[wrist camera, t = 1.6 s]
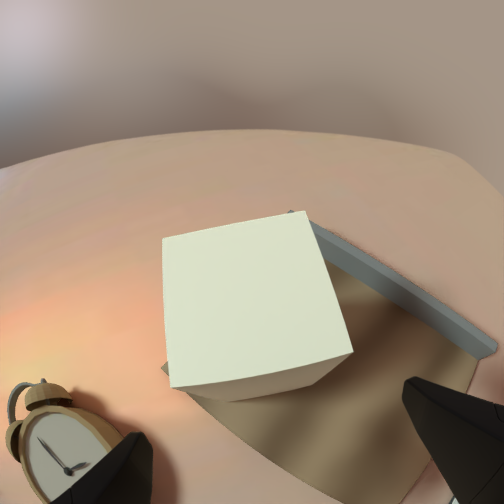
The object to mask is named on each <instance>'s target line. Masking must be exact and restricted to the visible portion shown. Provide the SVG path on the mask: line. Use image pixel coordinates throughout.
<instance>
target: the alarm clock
mask: <svg viewBox="0 0 504 504" xmlns="http://www.w3.org/2000/svg"><path fill="white" fill-rule="evenodd" d="M30 386H33V387H32V388H30V389H29V390H28V392H27V393H26V395H25V406H26V409H27V410H28V411H31V412H30V414H29V415H28V416H27V417H26V418H25V419H24V420H17V421H16V418H15V406H16V402H17V399H18V396H19V395H20V393H21V392H22V391H23V390H24V389H25V388H27V387H30ZM60 399H67V400H68V401H69V403H70V404H71V403H72V401H73V400H72V398H71V396H70V395H69V393H68V392H67V391H66V390H65V389H64V388H63V387H61V386H59V385H56V384H51V383H47V382H46V380H45V379H44V378H43V379H41V383H39V384H31V383H27V382H26V383H20V384H18V385H17V386H16V387H15V388H14V389H13V391H12V392H11V394H10V397H9V400H8V408H7V412H8V419H9V425H10V426H9V427H8V429H7V432H6V445H7V448H8V450H9V452H10V454H11V455H12V456H13V457H14V458H15V460H17V461H18V462H20V463H21V464H22V468H23V471H24V473H25V476H26V478H27V480H28V482H29V484H30V486H31V488H32V489H33V491H34V492H35V493H36V495H37V496H38V497H39V499H40V500H41V501H42V503H43V504H49V503H50V502H52V501H53V500H55V499H56V498H57V497H58V496H60V495H61V494H62V493H63V492H65V491H66V490H67V489H68V488H69V487H70V488H71V486H72V485H73V484H74V483H75V482H76V481H77V480H79V479H80V478H81V477H82V476H83V475H84V474H85V473H87V472H88V471H89V470H90V469H91V468H92V467H93V466H94V465H95V464H97V463H98V462H99V461H100V460H101V459H102V458H103V457H104V456H105V455H106V454H108V453H109V452H110V451H111V450H112V449H113V448H114V447H115V446H116V445H117V444H118V443H119V442H120V441H122V440H123V439H124V438H123V437H122V436H121V434H120V433H119V432H118V431H117V430H116V429H115V428H114V426H112V425H111V424H110V423H108V422H107V421H105V420H104V419H103V418H101V417H100V416H99V415H97V414H95V413H92V412H89V411H87V410H84V409H82V408H67V407H63V406H57V403H58V402H59V400H60Z"/></svg>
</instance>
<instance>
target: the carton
mask: <svg viewBox="0 0 504 504" xmlns="http://www.w3.org/2000/svg"><path fill="white" fill-rule="evenodd" d="M162 260H163V299H164V319H165V334H166V347H167V359H168V369H169V378H170V387H171V388H173V389H177V390H180V391H184V392H187V393H191V394H194V395H198V396H202V397H206V398H210V399H214V400H219V401H223V402H231V401H237V400H243V399H249V398H255V397H261V396H266V395H271V394H276V393H281V392H285V391H290V390H294V389H298V388H302V387H306V386H310V385H313V384H314V383H315V382H317V381H318V380H319V379H321V378H322V377H323V376H325V375H326V374H327V373H328V372H330V371H331V370H332V369H333V368H335V367H336V366H337V365H338V364H340V363H341V362H342V361H343V360H344V359H346V358H347V357H348V356H349V355H350V354H352V353H353V348H352V345H351V341H350V338H349V335H348V332H347V328H346V325H345V322H344V319H343V316H342V313H341V310H340V306H339V303H338V300H337V297H336V294H335V291H334V288H333V286H332V283H331V280H330V277H329V274H328V271H327V268H326V265H325V263H324V260H323V257H322V254H321V252H320V249H319V246H318V244H317V241H316V238H315V236H314V233H313V230H312V228H311V225H310V222H309V220H308V217H307V215H306V212H305V211H299V212H293V213H288V214H282V215H277V216H271V217H266V218H261V219H255V220H250V221H245V222H240V223H235V224H229V225H224V226H219V227H214V228H210V229H205V230H200V231H195V232H190V233H185V234H181V235H176V236H171V237H167V238H162Z"/></svg>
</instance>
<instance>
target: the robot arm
mask: <svg viewBox="0 0 504 504" xmlns="http://www.w3.org/2000/svg"><path fill="white" fill-rule="evenodd" d="M402 402H403V404H404V406H405V408H406V410H407V413H408V415H409V417H410V419H411V421H412V423H413V426H414V428H415V430H416V432H417V434H418V436H419V437H420V439H421V441H422V442H423V444H424V445H425V447H426V449H427V450H428V452H429V454H430V455H431V457H432V459H433V460H434V462H435V464H436V465H437V467H438V469H439V470H440V472H441V474H442V475H443V477H444V479H445V480H446V482H447V484H448V486H449V487H450V489H451V491H452V493H453V494H454V496H455V498H456V500H457V501H458V503H459V504H504V406H503V405H499V404H496V403H495V404H494V403H493V402H489V401H486V400H483V399H480V398H477V397H474V396H471V395H468V394H465V393H462V392H459V391H456V390H453V389H450V388H447V387H445V386H442V385H439V384H436V383H433V382H431V381H428V380H425V379H423V378H420V377H417V376H413V377H411V378H408V379H406V380H405V381H404V385H403V391H402ZM152 474H153V448H152V446H151V444H150V443H149V441H148V439H147V438H146V436H145V435H144V433H142V432H130V433H129V434H128V435H127V436H126V437H125V438H124V439H123V440H122V441H120V442H119V443H118V444H117V445H116V446H115V447H114V448H113V449H112V450H111V451H110V452H109V453H108V454H106V455H105V456H104V457H103V458H102V459H101V460H100V461H99V462H98V463H97V464H95V465H94V466H93V467H92V468H91V469H90V470H89V471H88V472H87V473H85V474H84V475H83V476H82V477H81V478H80V479H79V480H77V481H76V482H75V483H74V484H73V485H72V486H71V488H70V487H69V488H68V489H67V490H66V491H65V492H63V493H62V494H61V495H60V496H58V497H57V498H56V499H55V500H53V501H52V502H50V503H49V504H150V500H151V493H152Z"/></svg>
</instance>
